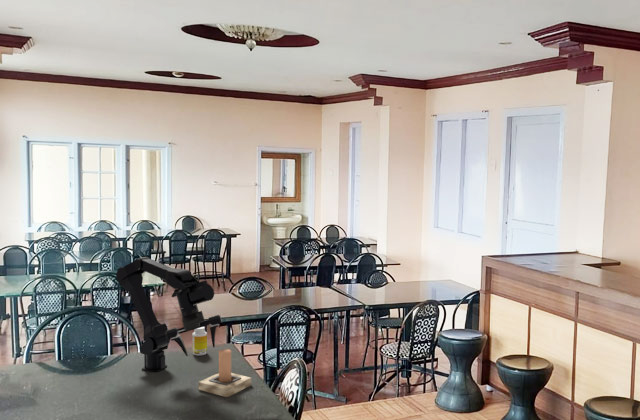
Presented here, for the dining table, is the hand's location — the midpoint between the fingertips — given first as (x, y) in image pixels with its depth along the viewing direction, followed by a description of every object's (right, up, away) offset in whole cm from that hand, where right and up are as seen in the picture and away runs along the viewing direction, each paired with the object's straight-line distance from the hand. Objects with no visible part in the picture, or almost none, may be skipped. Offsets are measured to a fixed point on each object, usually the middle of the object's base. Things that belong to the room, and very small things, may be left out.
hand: (200, 351), depth 194 cm
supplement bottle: (-6, -8, +28) cm, 29 cm away
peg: (+9, -10, -7) cm, 15 cm away
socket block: (+9, -10, -7) cm, 15 cm away
